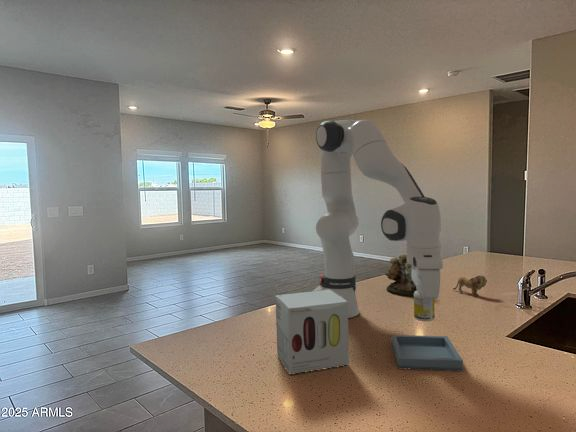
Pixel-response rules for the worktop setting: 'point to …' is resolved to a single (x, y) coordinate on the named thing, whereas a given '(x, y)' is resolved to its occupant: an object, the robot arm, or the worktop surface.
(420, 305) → the supplement bottle
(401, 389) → the worktop surface
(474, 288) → the lion figurine
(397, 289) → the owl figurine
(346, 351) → the supplement box
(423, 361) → the tray
